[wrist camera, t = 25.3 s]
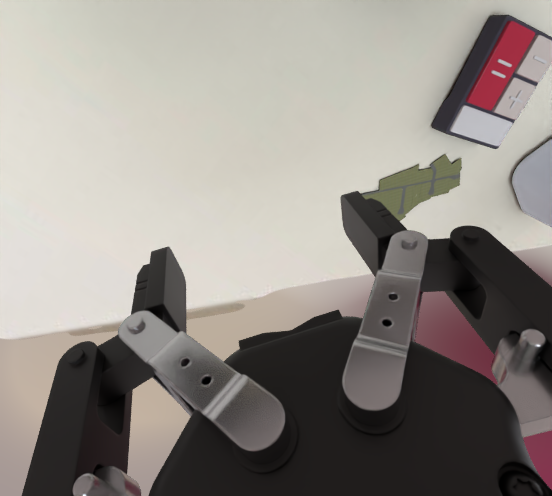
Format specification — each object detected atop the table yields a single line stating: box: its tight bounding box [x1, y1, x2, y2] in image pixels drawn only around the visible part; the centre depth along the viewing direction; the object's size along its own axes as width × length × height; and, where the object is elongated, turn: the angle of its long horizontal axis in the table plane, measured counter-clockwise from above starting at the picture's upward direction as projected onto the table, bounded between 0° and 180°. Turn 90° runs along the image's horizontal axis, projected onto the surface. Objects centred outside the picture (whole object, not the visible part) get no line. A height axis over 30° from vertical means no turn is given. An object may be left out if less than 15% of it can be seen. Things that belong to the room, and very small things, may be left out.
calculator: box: [432, 15, 552, 149], centre depth 49 cm, size 11×4×15 cm
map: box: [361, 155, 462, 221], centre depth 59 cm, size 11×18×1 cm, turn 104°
